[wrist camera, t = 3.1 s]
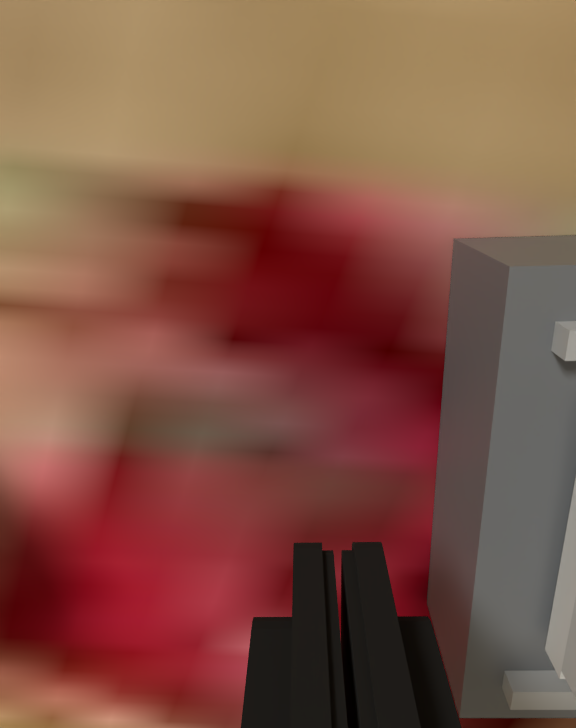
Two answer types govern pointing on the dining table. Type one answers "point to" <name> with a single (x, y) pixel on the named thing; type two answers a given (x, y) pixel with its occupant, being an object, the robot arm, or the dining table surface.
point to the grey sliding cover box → (505, 473)
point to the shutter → (565, 608)
